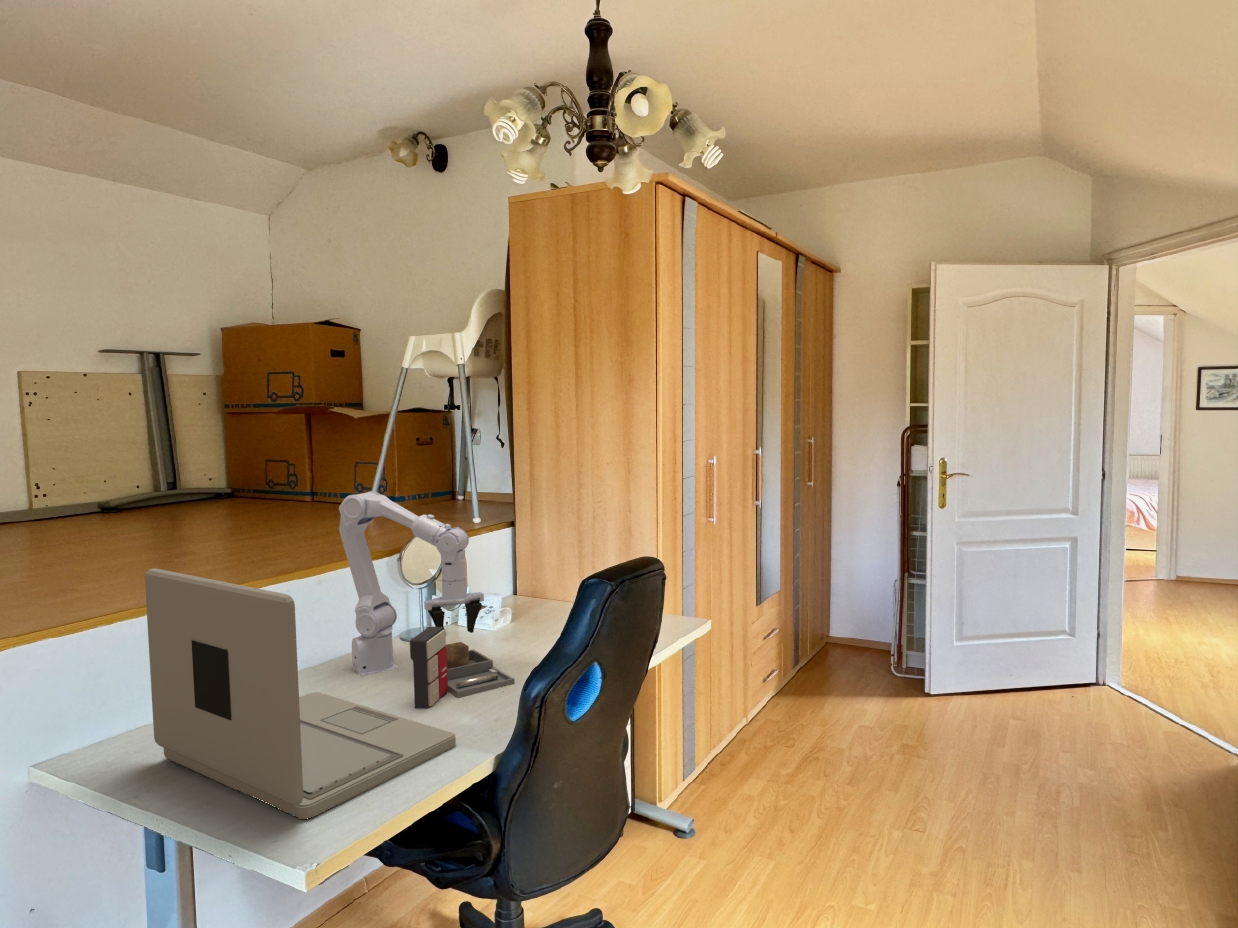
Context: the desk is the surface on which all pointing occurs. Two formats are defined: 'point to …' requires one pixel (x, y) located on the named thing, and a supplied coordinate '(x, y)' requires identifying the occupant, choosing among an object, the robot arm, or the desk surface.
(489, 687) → the case lid open
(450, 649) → the module block
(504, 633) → the desk surface
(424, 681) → the drawer chest
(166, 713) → the laptop
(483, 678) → the rod
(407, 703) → the desk surface
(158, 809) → the desk surface
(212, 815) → the desk surface
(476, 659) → the case
